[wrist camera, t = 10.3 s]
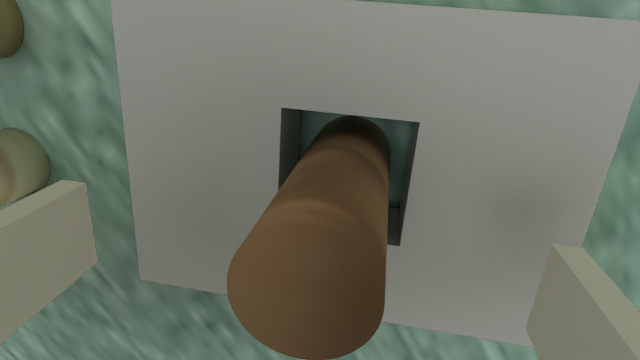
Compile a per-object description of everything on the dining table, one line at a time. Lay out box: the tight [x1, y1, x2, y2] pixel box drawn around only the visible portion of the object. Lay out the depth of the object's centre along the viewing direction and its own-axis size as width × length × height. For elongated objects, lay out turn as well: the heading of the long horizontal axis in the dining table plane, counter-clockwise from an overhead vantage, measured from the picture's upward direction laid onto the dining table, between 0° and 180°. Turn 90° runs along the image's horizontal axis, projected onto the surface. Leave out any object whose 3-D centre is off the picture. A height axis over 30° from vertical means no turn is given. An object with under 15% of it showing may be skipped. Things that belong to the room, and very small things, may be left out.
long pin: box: [227, 116, 390, 360], centre depth 16 cm, size 4×4×12 cm
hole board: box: [110, 0, 640, 348], centre depth 19 cm, size 20×14×4 cm
